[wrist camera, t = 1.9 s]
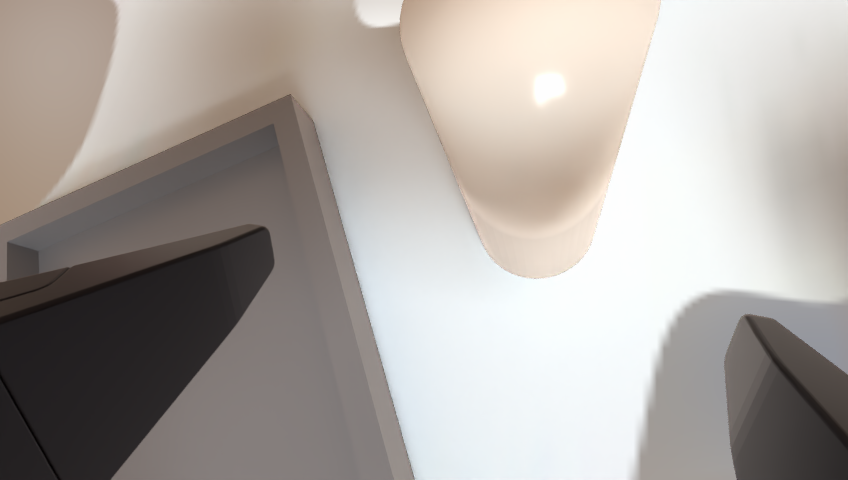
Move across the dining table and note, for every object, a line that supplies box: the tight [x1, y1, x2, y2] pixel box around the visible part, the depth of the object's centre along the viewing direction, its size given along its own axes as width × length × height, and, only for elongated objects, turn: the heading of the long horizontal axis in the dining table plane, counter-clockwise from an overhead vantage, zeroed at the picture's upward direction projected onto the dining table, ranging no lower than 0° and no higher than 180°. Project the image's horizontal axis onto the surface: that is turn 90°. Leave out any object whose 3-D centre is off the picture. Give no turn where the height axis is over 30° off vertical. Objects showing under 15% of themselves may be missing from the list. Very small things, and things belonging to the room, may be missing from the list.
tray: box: [0, 94, 414, 480], centre depth 22 cm, size 24×18×2 cm
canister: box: [400, 0, 661, 279], centre depth 16 cm, size 5×5×13 cm
